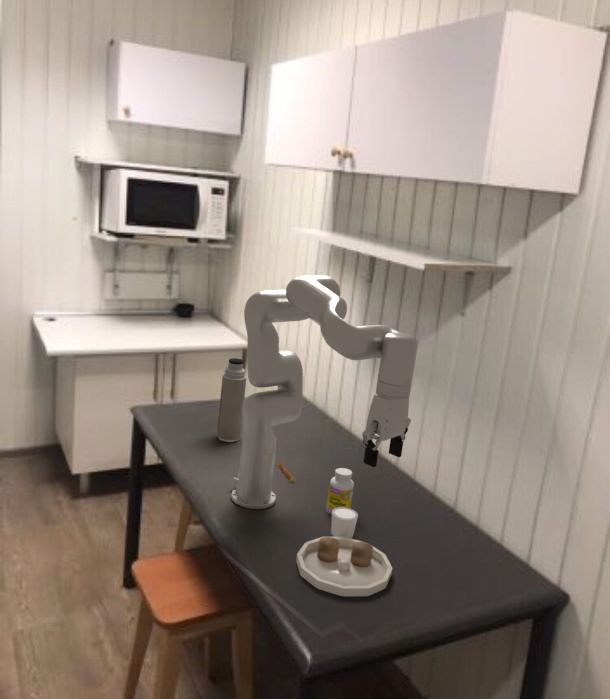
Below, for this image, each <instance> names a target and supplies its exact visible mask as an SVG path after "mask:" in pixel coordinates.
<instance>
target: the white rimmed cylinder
mask: <svg viewBox="0 0 610 699" xmlns="http://www.w3.org/2000/svg"><path fill="white" fill-rule="evenodd" d="M358 518H359V514H358V512H357V511H356V510H354V509H352V508H345V507H338V508H335V509H333V510H332V514H331V527H330V534H331V535H332V537H348V538H352V539H353V537H354V533H355V530H356V525H357V522H358Z"/></svg>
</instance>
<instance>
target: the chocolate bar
mask: <svg viewBox="0 0 610 699" xmlns="http://www.w3.org/2000/svg"><path fill="white" fill-rule="evenodd" d="M276 465H277V466H278V467H279V469H280V470H281V471H282V473H283V474H284V475H285V477H286V478H287V479H288V480H289V482H290V483H296V480H295V478H294V476H293V475H292V474H291V472H289V470H288V469H287V468H286V466H284V464H283V463H282V462H281V461H280V460H278V461H277V463H276ZM276 465H275V466H276ZM282 473H281V474H282ZM283 474H282V475H283ZM285 477H284V478H285ZM286 478H285V479H286ZM287 479H286V480H287ZM288 480H287V481H288ZM289 482H288V483H289Z"/></svg>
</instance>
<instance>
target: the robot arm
mask: <svg viewBox="0 0 610 699" xmlns="http://www.w3.org/2000/svg"><path fill="white" fill-rule="evenodd" d="M243 310H244V311H243V314H244V315H243V316H244V317H243V318H244V323H245V325H244V326H245V330H246V334H247V335H246V336H247V337H246V338H247V344H246V345H247V351H246V352H247V353H246V354H247V356H246V357H247V360H246V362H247V379H248V382H249V384H251V386H253V387H255V388H270V387H271V388H272V387H277V389H274V390H266V391H259V392H255V393H253V394H250V395H248V396H247V397H245V398H244V402H243V404H242V440H241V450H240V458H239V459H240V461H239V472H238V473H237V475H236V477H232V482H234V484H236V485H235V488H234V489H233V490H232V491H231V496H230V497H231V500H232V502H233V503H235V504H236V505H237V504H238V505H237V506H239V505H240V507H242V508H245V509H251V510H262V509H267V508H271V507H272V506H274V504H276V502H277V501H276V499H277V496H276V494H275V493H274V491H273V490H272V489H273V488H272V487H273V479H274V470H275V461H276V454H277V452H276V451H277V442H278V441H277V438H276V435H275V434H274V431H273V426H277V425H282V424H287V423H291V422H294V421H296V420H297V419H298V418H299V417H300V416H301V413H302V410H303V394H304V393H303V389H304V388H303V387H304V386H303V381H304V376H303V375H304V372H303V371H304V370H303V364H302V362H301V359H300V357H299V356H298V354H296V353H295V352H294V351H291V350H288V349H287V350H286V349H285V350H284V349H283V350H280V336H279V334H278V331H277V330H276V327H275V326H274V324H275V323H286V322H287V323H288V322H300V321H304V320H307V319H310V320H311V321H313V322H314V323H316V324H317V325H318V326H320V327H319V328H320V332H321V336H322V338H323V340H324V342H325V343H326V344H327V345H328V346H329V347H330V348H331V349H332V350H333V351H335V352H337V353H338V354H339V355H340V356H342V357H344V358H346V359H348V360H351V361H364V360H371V359H380V361H379V368H378V375H377V382H376V387H375V393H374V394H373V397H372V400H371V403H370V407H369V411H368V415H367V420H366V425H365V430H364V431H362V432H361V434H362V442H363V444H364V445H363V446H364V456H363V463H364V464H365V465H367V466H369V467H372V468H376V467H377V464H378V457H379V449H378V448H379V447H380V445H381V442H385V441H387V440H390V441H389V446H388V448H389V449H388V454H390V455H392V456H393V457H397V458H401V457H402V453H403V448H404V447H403V446H404V442H405V440H406V434H407V433H408V431H409V427H410V424H411V422H412V420H411V418H409V409H410V406H409V405H410V396H411V390H412V382H413V377H414V370H415V364H416V359H417V352H418V344H419V342H418V339H417V338H416V337H415V336H413V335H411V334H409V333H404V332H400V331H398V330H396V329H395V328H393V327H391V326H389V325H386V324H371V325H370V324H368V325H358V326H354V325H352V324H351V323H349V322H348V321H346V320H345V318H346V315H347V312H348V304H347V302H346V300H345V298H343V297H341V288H340V285H339V284H338V282H337V281H336V280H335V279H334V278H333V277H330V276H328V275H300V276H297V277H294V278H293V279H291V280H290V281H289V282H288V284H287V285H286V288H285V289H270V290H269V289H268V290H260V291H258V292H254V293H253V294H251V295H250V296H249V298H248V299H247V301H246V303H245V305H244V309H243ZM373 440H375V442H374V441H373Z"/></svg>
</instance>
